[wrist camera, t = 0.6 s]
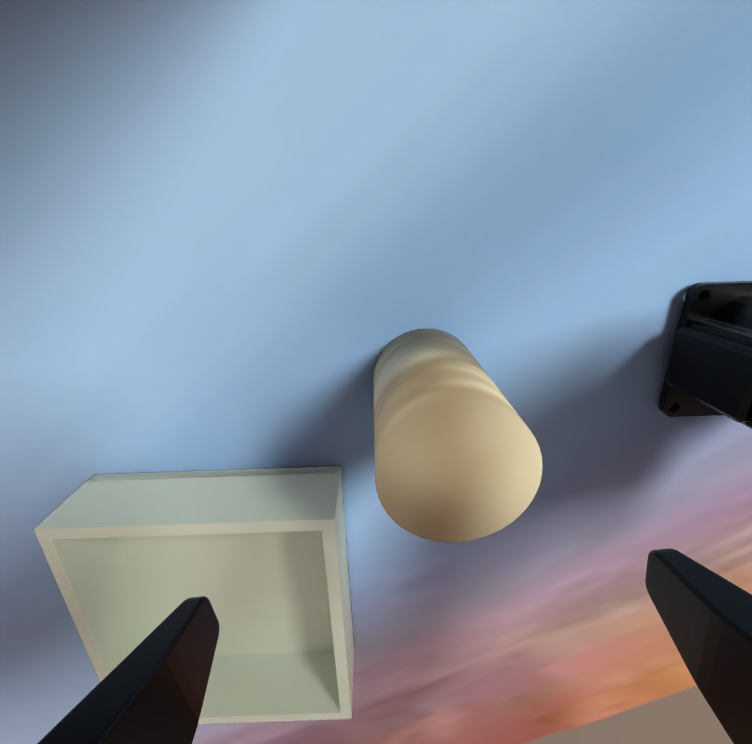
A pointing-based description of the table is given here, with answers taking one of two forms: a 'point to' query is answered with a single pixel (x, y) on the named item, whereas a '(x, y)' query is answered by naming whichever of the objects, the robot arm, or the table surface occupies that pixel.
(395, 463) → the beige rounded cylinder
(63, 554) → the bin
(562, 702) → the table surface
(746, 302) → the robot arm
